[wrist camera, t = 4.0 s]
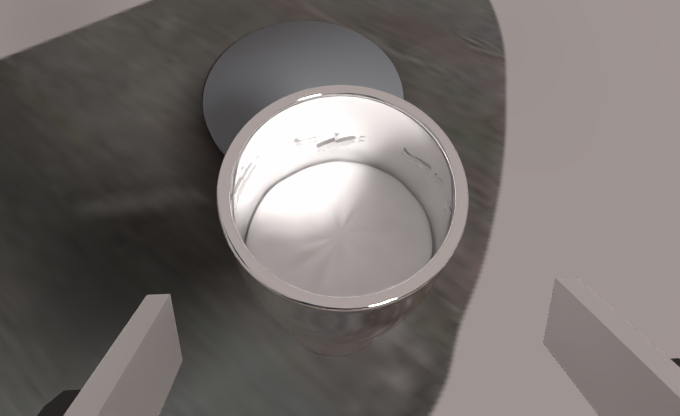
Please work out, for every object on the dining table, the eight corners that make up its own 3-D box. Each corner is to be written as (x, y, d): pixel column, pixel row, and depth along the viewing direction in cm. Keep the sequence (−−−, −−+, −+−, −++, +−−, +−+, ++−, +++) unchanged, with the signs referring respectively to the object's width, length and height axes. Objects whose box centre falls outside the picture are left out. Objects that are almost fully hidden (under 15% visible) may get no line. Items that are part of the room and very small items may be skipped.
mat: (182, 174, 28) (178, 168, 27) (230, 20, 34) (228, 11, 33) (394, 199, 27) (396, 194, 27) (407, 39, 33) (408, 31, 32)
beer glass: (257, 274, 25) (172, 129, 12) (361, 227, 27) (395, 47, 13) (305, 388, 23) (268, 375, 9) (417, 330, 24) (532, 243, 10)
